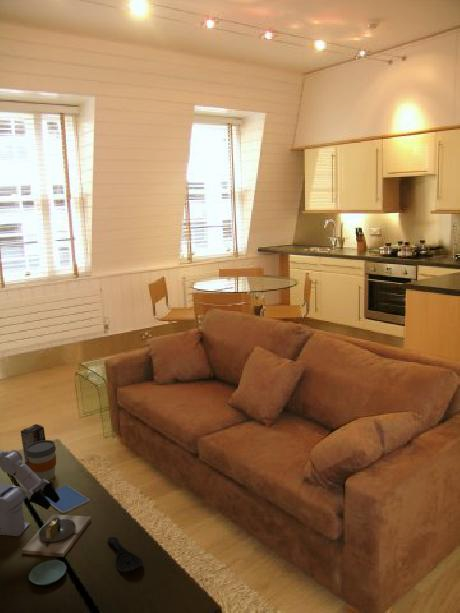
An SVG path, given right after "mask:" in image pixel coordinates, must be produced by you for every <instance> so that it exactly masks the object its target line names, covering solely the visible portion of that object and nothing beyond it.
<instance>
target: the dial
mask: <svg viewBox="0 0 460 613" xmlns="http://www.w3.org/2000/svg"><path fill="white" fill-rule="evenodd" d="M42 526H43V525H42ZM40 529H41V530H40ZM40 529H39V530H40V531H39V530H38V531H39V538H40V539H41V540H42V541H43V542H46V543H55V542H60V541H63V540H65V539H67V538H69V537H70V536H71V535H73V533H74V532H75V530H76V526H75V523H74V522H73V521H71V520H68V519H60V518H54V519H53V520H52V522H50V523H48V524H46V525H45V526H43V527H42V528H41V527H40Z"/></svg>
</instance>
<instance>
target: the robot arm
mask: <svg viewBox="0 0 460 613" xmlns="http://www.w3.org/2000/svg"><path fill="white" fill-rule="evenodd" d="M0 469H1V471H2V472H3V473H6V474H9V475H10V476H12V477H13V478H15V479H16V480H17V481H18V482H19V483H20V484H21V485H22V487H23V488H25V490H26V492H25V490H24V489H23V488H22V487H21V486H16V485H14V484H12V483H9V484H8V483H7V484H3V483H2V482H0V536H1V535H2V536H12V537H13V536H14V537H20V536H21V534H22V533H23V532H24V531H25V530H26V529H27V528H28V527H29V526H30V524H31V522H27V521H26V522H25V515H24V509H23V508H24V507H23V505H24V501H25V499H26V498H29V499H28V502H29V503H31V504H35V505H38V506H40V507H41V508H43V509H45V510H47V511H48V509H49V508H51V507H52V506H51V503H50V502H49V501H48V500H47V498H46V497H48V498H49V499H50V500H52V501H53V502H54V503H57V502H58V501H59V500H60V498H59V496H58V494H57V493H56V491H55V490H56V488H55V485H54V482H52V481H49V480H45V479H42V480H41V479H40V478H39V477H38V476H37V475H36V474H35V473H34V472H33V471H32V470H31V469H30V466H29V465H27V464H26V462H24V461H23V456H22V454H21V453H20V452H19V451H17V450H15V449H12V450H11V451H6V450H3V449H0ZM45 496H46V497H45Z"/></svg>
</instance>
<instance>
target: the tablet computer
mask: <svg viewBox="0 0 460 613" xmlns="http://www.w3.org/2000/svg"><path fill="white" fill-rule="evenodd" d="M55 491H56V493H57V494H58V496H59V498H60V500H59V501H58V502H57V503H54V502H53V501H52V500H50V499H49V498H48V497H46V496H45V497H46V498H47V500H48V501H49V502H50V503H51V506H50V507H53V508H54V509H55V510H56V511H58V512H59V513H61V515H65V514H66V513H69V512H71V511H73V510H75V509H77V508H79V507H82V506H83V505H85V504H86V503H89V502H90V498H88V497H86V495H83V494H81V493H80V492H78V491H77V490H75V489H74V488H73V487H71V486H69V485H67V484H66V485H64V486H61V487H60V488H57V489H56V488H55Z"/></svg>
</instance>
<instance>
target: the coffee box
mask: <svg viewBox="0 0 460 613" xmlns="http://www.w3.org/2000/svg"><path fill="white" fill-rule="evenodd" d="M20 436H21V442H22V443H21V444H22V450H23V455H24V456H23V457H24V461H26V462H25V463H28V459H29V458H28V456H27V447H28V446H29V445H30V444H32V443H34V442H37V441H42V440H47V439H46V433H45V427H44V426H43V425H40V424H36V423H35V424H33V425H31V426H29V427H26V428H24V429H22V430H20Z"/></svg>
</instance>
